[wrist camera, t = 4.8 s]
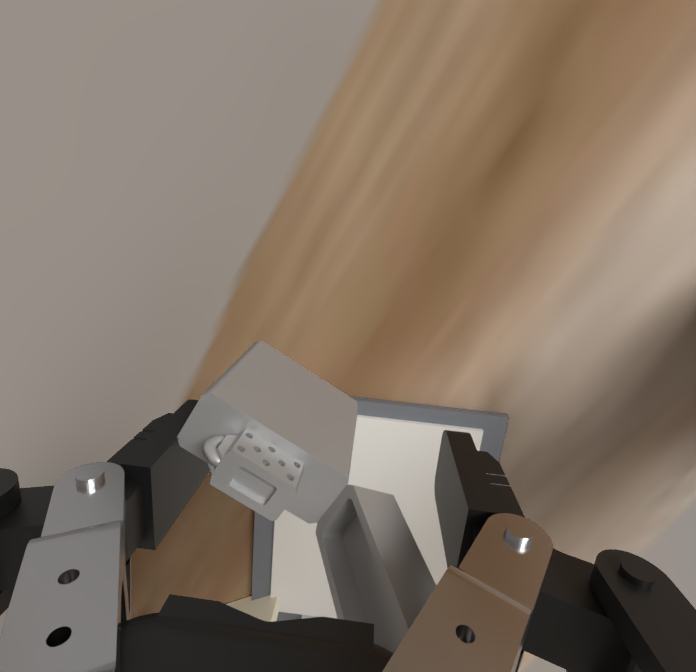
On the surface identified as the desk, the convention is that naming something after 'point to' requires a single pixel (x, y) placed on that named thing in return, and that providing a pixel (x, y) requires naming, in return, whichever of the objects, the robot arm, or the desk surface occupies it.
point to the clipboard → (376, 474)
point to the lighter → (311, 483)
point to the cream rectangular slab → (259, 607)
